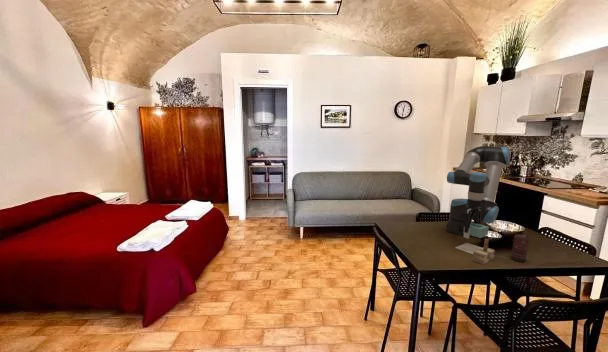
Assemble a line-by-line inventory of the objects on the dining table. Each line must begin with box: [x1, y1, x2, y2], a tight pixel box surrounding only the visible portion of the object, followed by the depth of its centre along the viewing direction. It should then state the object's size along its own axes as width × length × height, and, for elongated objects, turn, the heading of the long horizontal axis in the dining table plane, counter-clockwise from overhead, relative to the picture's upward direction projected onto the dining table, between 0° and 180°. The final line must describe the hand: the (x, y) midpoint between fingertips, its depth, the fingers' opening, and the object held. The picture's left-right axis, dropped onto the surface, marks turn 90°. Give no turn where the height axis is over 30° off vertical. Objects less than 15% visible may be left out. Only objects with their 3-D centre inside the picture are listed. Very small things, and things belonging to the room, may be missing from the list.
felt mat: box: [454, 242, 482, 255], centre depth 153 cm, size 14×14×1 cm
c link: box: [463, 221, 490, 239], centre depth 151 cm, size 9×9×5 cm
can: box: [511, 233, 530, 263], centre depth 140 cm, size 6×6×14 cm
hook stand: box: [471, 238, 496, 266], centre depth 140 cm, size 13×5×12 cm, turn 123°
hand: (470, 236), depth 154 cm, fingers closed on c link, 9 cm apart
